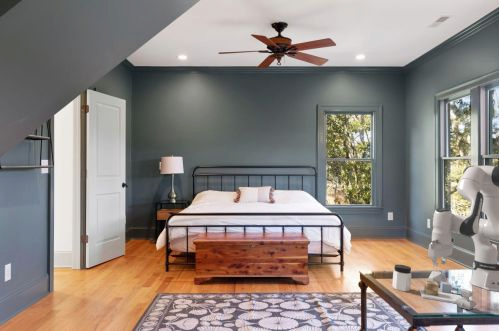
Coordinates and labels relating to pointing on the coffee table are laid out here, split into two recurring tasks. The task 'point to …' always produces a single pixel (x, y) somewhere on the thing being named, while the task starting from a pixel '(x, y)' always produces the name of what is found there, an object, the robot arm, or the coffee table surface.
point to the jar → (402, 278)
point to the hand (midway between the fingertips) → (439, 265)
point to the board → (441, 296)
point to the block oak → (431, 288)
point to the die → (437, 277)
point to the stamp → (466, 300)
